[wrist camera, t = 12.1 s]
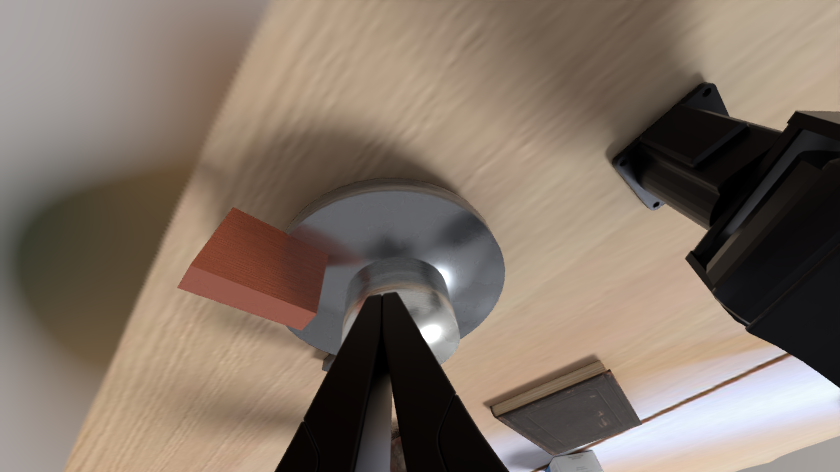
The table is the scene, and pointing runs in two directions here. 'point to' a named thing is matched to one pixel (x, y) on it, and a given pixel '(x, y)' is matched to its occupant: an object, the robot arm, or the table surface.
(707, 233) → the robot arm
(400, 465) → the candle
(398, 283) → the cover
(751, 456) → the table surface
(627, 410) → the hardcover book
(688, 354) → the table surface
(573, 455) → the ink box
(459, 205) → the turntable
